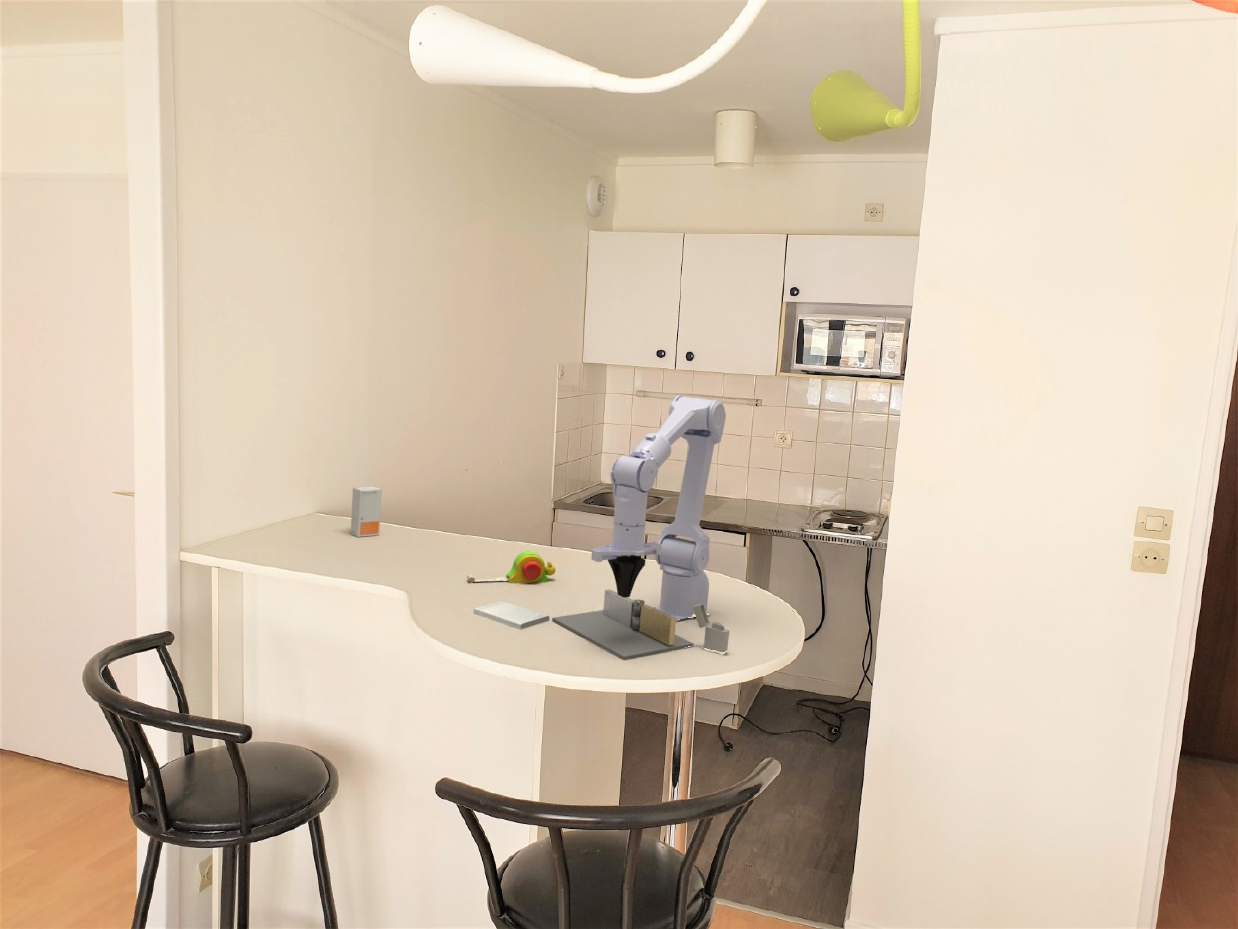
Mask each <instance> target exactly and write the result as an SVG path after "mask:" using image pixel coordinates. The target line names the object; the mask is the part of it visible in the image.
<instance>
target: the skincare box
mask: <svg viewBox="0 0 1238 929" xmlns="http://www.w3.org/2000/svg"><path fill="white" fill-rule="evenodd" d="M382 491H383V490H382V488H379V487H376V486H360V487H352V498H351V499H352V500H351V519H350V520H351V521H350V535H353V536H354V537H357V538H361V537H375V536H380V531H381V530H380V528H381V527H380V526H381V512H382V511H381V508H382Z"/></svg>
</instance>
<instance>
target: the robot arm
mask: <svg viewBox="0 0 1238 929" xmlns="http://www.w3.org/2000/svg"><path fill="white" fill-rule="evenodd" d="M726 417H727V414H726V411H725V406H724V404H723V402H722V401H721V400H720V399H714V400H713V399H706V398H697V397H691V396H690V397H689V396H683V395H677V396H675V397H674V398H673V400H672V402H670V403H669V410H668V416H667V418H666V419H665V421H664V422H663V423H662V425H661V426H660V427H659V429H658V430H657V432H650V433H647V434H646V435H645V437H644V438H643V439H641V441H640V442H639V443H638V444H637V445H636V447H634V448H633V449H632V451H631V452H630V453H629V454H628V455H622V456H620V457H619V458H617V459H616V460H615V461H614V463H613V464H612V467H611V471H610V474H609V476H610V481H611V484H612V494H613V496H614V497H615V499H614V500H615V501H614V510H613V527H612V540H611V544H609V545H605V546H600V547H596V548H593V549H591V560H592V561H594V562H598V563H600V562H603V561H607V562H608V564H609V566H610V569H611V570H612V573H613V576H614V580H615V585H616V591H617V593H618V595H619V596H621V597H624V598H625V597H628V598H631V595H632V591H633V589H634V586H635V583H636V581H637V579H638V576H639V574H640V573H641V571H642V570H643V568H644V567H645V566H646V559H645V558H642V557H643V556H651V555H654V557H655V560H656V563H657V564H658V565H659V569H660V570H661V571H662V575H661V576H662V577H661V578H662V579H661V590H660V600H659V601H660V602H659V605H658V606H652V607H653V608H655V609H658V610H660V611H662V612H664V613H667V614H669V615H671V616H673V617H676V620H678V619H684V620H686V619H685V618H688V617H692V615H693V614H695V612H694V609H693V606H694V605H697V604H701V603H703V604H704V606H705V610H706V611H707V612H708V602H709V601H708V600H709V592H710V590H709V589H710V583H709V582H710V580H709V578H708V575H707V574H706V573H705V569H706V568H707V566H708V564H709V560H710V540H711V539H710V537H709V535H708V533H706V531H705V530H704V529H703V528H702V527H701V526H700V522H701V518H702V513H703V506H704V501H705V497H706V493H707V492H706V491H707V486H708V481H709V480H708V479H709V475H710V471H711V470H710V469H711V465H712V460H713V456H714V455H713V454H714V450H715V446H716V445H717V444H720V443H721V442H722V437H723V433H724V428H725V424H726ZM680 438H682V439H684V440H686V442H687V444H688V449H687V454H686V459H685V460H686V461H685V466H684V472H683V475H682V482H681V486H680V492H679V497H678V503H677V507H676V511H675V512H676V513H675V518H674V521H673V522H671V523H670V524H668V525H666V526H665V527H663V528H662V529H661V533H660V536H659V539H658V541H657V542H656V541H655V542H645V531H646V518H647V506H648V494H649V493H648V492H649V491H650V490H651V489H652V488H653V486H654V483H655V482H656V477H657V476H658V474H659V469H660V467H661V466H663V464H664V463H665V462H666V461H667V459H668V458H670V456H671V454H672V445H673V444H674V443H675V442H676V441H678V439H680ZM680 537H684V538H687V539H684V538H680ZM688 539H689V540H688ZM690 539H692V540H690ZM678 621H679V620H678Z"/></svg>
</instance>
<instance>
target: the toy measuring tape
mask: <svg viewBox="0 0 1238 929" xmlns="http://www.w3.org/2000/svg"><path fill="white" fill-rule="evenodd" d="M546 563H547V564H546V565H545V561H544V560H543V558H542V557H541V556H540V555H539V554H538V553H537V552H535V551H532V550H526V551H522V552H521V553H519V554H517V555H516V557H515V559H514V561H513V564H512V567H511V568H510V570H509V571H508V572H507V573H506V577H505V576H500V577H494V578H487V579H475V576H474V575H472V574H468V575H466V577H467V581H468V582H470V584H473V583H478V582H479V583H480V582H488V583H489V582H491V583H493V582H508V583H509V584H532V583H548V580H549V578H548V577H549V576H553V575H554V574H555V573H556V567H555V566H554V564H553V563H552V562H551V561H550V560H549V561H547V562H546ZM547 576H548V577H547Z"/></svg>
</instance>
